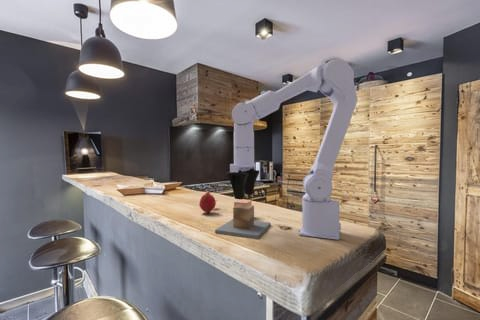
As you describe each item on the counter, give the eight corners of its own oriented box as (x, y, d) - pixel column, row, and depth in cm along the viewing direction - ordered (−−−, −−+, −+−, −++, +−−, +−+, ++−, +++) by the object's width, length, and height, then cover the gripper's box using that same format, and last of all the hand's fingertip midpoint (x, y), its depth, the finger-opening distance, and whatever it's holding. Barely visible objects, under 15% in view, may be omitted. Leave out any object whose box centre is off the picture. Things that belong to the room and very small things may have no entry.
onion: (212, 215, 78) (212, 192, 78) (197, 214, 79) (196, 192, 79) (217, 211, 84) (217, 190, 84) (203, 211, 85) (202, 189, 85)
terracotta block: (251, 216, 77) (251, 200, 77) (246, 219, 73) (246, 202, 73) (239, 215, 79) (239, 199, 79) (234, 218, 74) (234, 201, 74)
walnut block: (254, 224, 64) (254, 205, 64) (248, 229, 60) (248, 208, 60) (239, 223, 66) (239, 204, 66) (233, 227, 62) (233, 207, 62)
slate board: (270, 225, 66) (270, 222, 66) (258, 238, 55) (258, 235, 55) (233, 221, 71) (233, 218, 71) (215, 232, 60) (215, 229, 60)
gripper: (240, 149, 71) (240, 192, 71) (219, 147, 58) (219, 200, 58) (261, 149, 69) (262, 193, 69) (244, 146, 55) (245, 202, 55)
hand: (244, 196), depth 63 cm, fingers open, 7 cm apart
